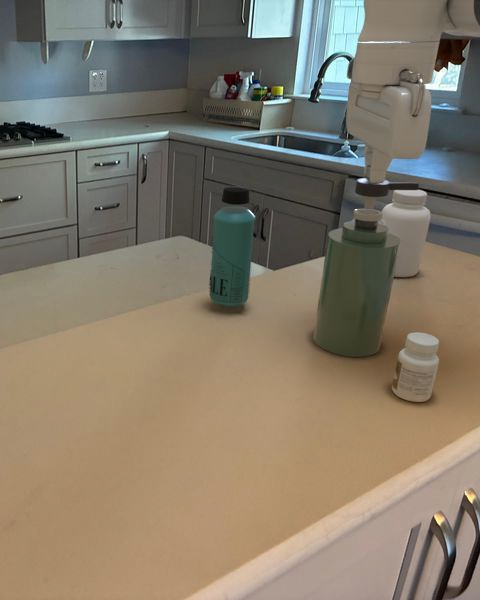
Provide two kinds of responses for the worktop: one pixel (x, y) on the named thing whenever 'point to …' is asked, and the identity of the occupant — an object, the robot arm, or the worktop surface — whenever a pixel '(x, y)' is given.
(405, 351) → the pill bottle
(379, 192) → the pump head
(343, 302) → the dispenser
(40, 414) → the worktop surface
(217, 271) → the beverage bottle
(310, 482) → the worktop surface
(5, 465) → the worktop surface
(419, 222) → the pill bottle
